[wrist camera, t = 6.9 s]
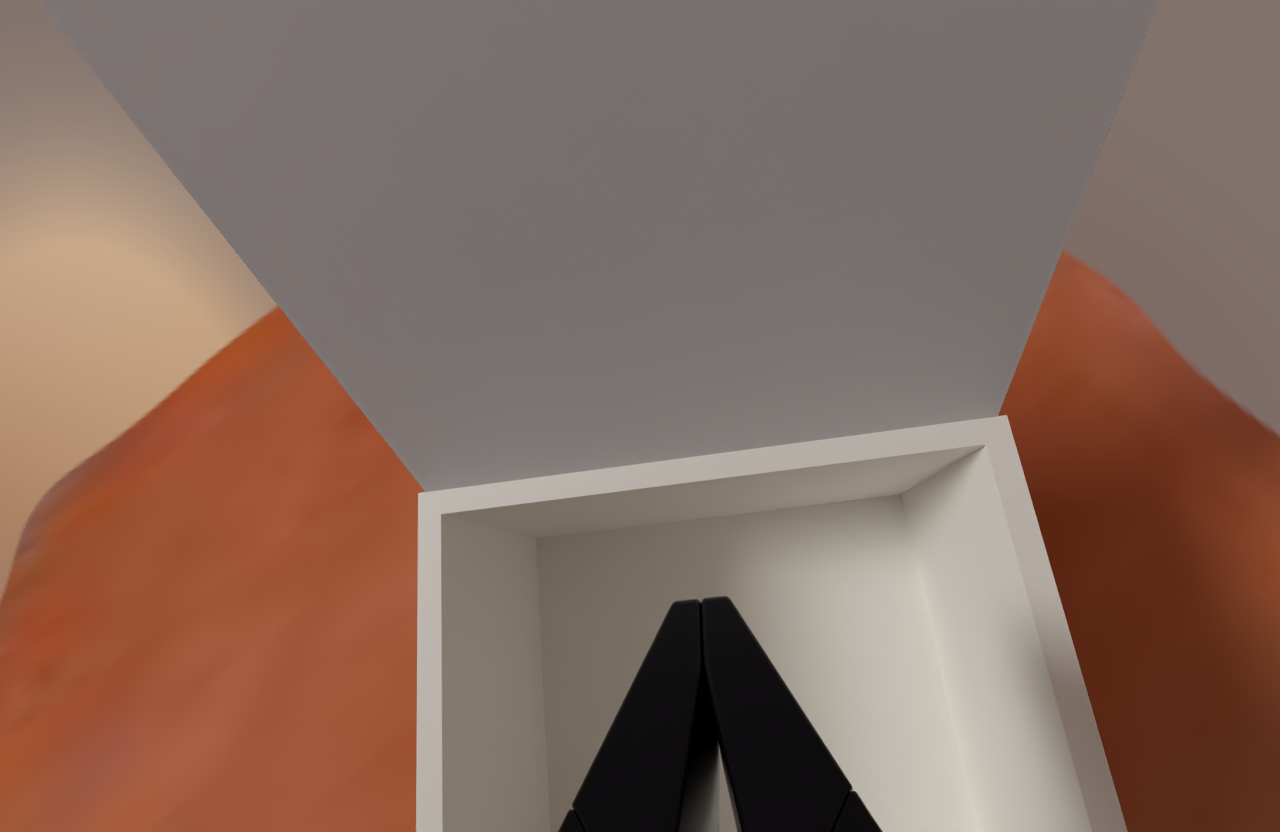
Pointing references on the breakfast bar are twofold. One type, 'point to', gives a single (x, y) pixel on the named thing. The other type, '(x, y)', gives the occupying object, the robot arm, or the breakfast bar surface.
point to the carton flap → (633, 204)
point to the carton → (764, 627)
